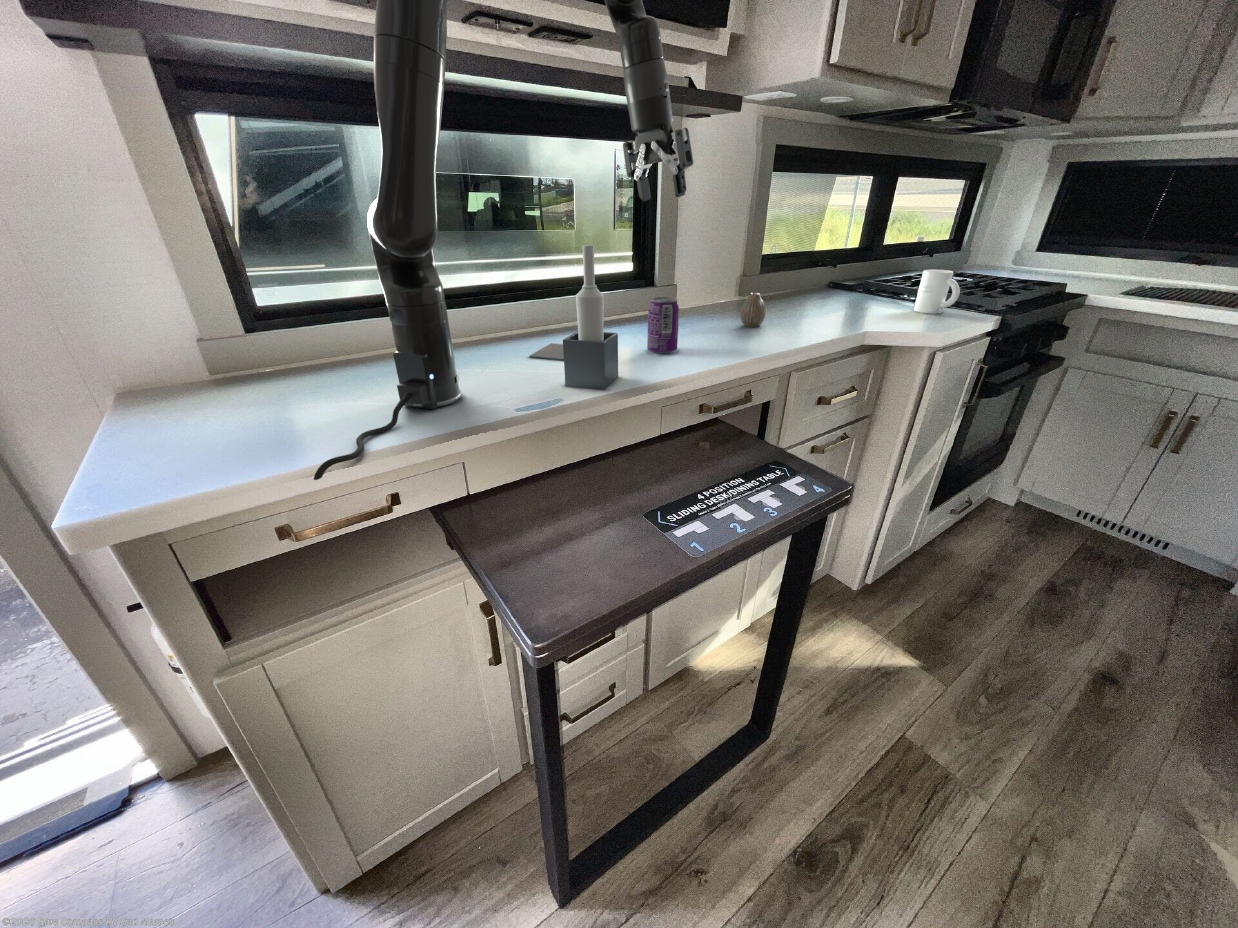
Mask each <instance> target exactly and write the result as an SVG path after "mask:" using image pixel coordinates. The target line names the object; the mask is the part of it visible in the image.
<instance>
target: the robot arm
mask: <svg viewBox="0 0 1238 928" xmlns="http://www.w3.org/2000/svg"><path fill="white" fill-rule="evenodd" d="M604 3H605V6H606V10H607V12H608V15H609V18H610V21H611V24H612V27H613V29H614V31H615V33H616V37H617V39H618V45H619V53H620V58H621V59H620V60H621V66H622V69H623V70H622V71H623V72H622V73H623V84H624V92H625V98H626V104H627V110H628V116H629V117H628V118H629V122H630V128H631V131H632V132H633V133H634V136H635V137H634V138H635V139H632V140H628V141H624V142H623V143H622V150H623V157H624V165H625V171H626V177H627V179H634V180H635V181H636V187H637V192H638V197H639V198H640V200H641V202H647V201H649V200H651V199H652V196H651V189H650V184H649V178H648V177H647V176H648V173H649V170H650V168H651V167H652V165H653V164H655V163H657V164H658V163H662V162H663V164H664V165H665V166H668V167H669V169H670V171H671V172H672V173H673V175H672V181H673V189H674V195H675V198H681V197H684V196H685V195H686V192H687V183H686V182H687V181H686V170H687V169H689V168H690V167H692V166H693V165H694V157H693V150H692V145H691V139H690V132H689V129H688V128H687V127H682V128H678V129H676V130H674V129H673V126H672V125H673V121H674V118H673V117H674V116H673V109H672V101H671V93H670V86H669V78H668V72H667V67H666V64H665V59H664V51H663V42H662V34H661V29H660V25H659V21H658V20H657V18H655V17H654V16H651V15H647V13H646V10H645V7H644V3H643V0H604ZM447 29H448V0H376V8H375V17H374V29H373V89H374V97H375V105H376V113H377V118H378V125H379V132H380V140H381V164H380V173H379V185H378V193H377V198H376V199H374V201H373V202H372V203H371V204H370V206H369V209H368V212H367V215H366V217H367V219H366V220H367V230H368V235H369V240H370V245H371V249H372V254H373V258H374V261H375V266H376V270H377V275H378V279H379V282H380V286H381V288H382V291H383V295H384V298H385V304H386V307H387V312H388V317H389V321H390V327H391V332H392V336H393V341H394V345H395V352H393V354H392V357H393V361H394V365H395V370H396V375H397V380H398V384H396V389H397V394H398V397H399V401H398V402H397V404H396V405H395V406H394V409H393V412H392V415H391V416H392V417H391V420H390V422H388V423H387V424H385V425H383V426H381V427H377V428H374V429H369V430H366V431H364V432H361V433H360V434H359V435H358V436H357V438H356V441H355V442H356V443H355V444H356V446H357V449H355V451H353V452H351V453H348V454H344V455H339V456H335V457H332V458H330V459H327V460H325V461H324V462H323V463H322V464H321V465H320V466H319V467H318V468H317V469H316V471H315V473H314V476H313V481H317V480H320V479H322V478H323V477H324V474H325V472H326V471H327V470H328V469H329V468H330V467H332V466H334V465H337V464H340V463H345V462H349V461H353V460H355V459H357V458H358V457H361V455H362V454H363V453H364V451H365V445H364V440H365V439H367V438H368V437H372V436H376V435H380V434H383V433H386V432H388V431H390V430H392V429H393V428H394V427H395V426H396V425H397V424H398V420H399V413H400V412H401V410H402V409H403V407H410V408H417V409H418V408H419V409H427V410H435V409H436V408H439V407H444V406H445V407H446V406H448V405H452V404H454V403H456V402H457V401H459V400H460V399H461V397H462V394H461V390H460V384H459V382H460V375H459V373H458V371H457V365H456V360H455V353H454V348H453V342H452V335H451V334H452V333H451V328H450V322H449V316H448V308H447V302H446V296H445V291H444V290H445V289H444V285H443V282H442V281H441V278H440V276H439V272H438V269H437V265H436V261H435V256H434V249H433V248H434V246H435V244H436V241H437V239H438V233H439V232H438V231H439V230H438V229H439V224H438V204H437V201H438V200H437V156H438V148H439V141H440V133H441V126H442V124H441V123H442V115H443V114H442V113H443V103H444V94H445V82H446V81H445V80H446V63H447V33H448V32H447ZM674 144H675V145H676V147H674Z"/></svg>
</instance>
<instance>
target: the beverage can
mask: <svg viewBox="0 0 1238 928" xmlns="http://www.w3.org/2000/svg"><path fill="white" fill-rule="evenodd" d="M679 318H680V306H679V303H678V298H677V297H672V296H655V297H651V298H650V301H649V305H648V307H647V345H646V346H647V347H646V348H647V350H649V351H650V352H652V353H654V354H657V355H667V354H672V353H673V352H675V351H677V350H678V342H679V341H678V339H679Z"/></svg>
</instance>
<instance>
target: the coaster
mask: <svg viewBox="0 0 1238 928" xmlns="http://www.w3.org/2000/svg"><path fill="white" fill-rule="evenodd" d="M528 357H529V359H541V360H551V361H552V360H554V361H561V362H562V361H563V362H564V353H563V343H550V344H548V345H546V346H544V347H542V348H541V349H539V350H537V351H535V352H534V353H532V354H530V355H529V356H528Z"/></svg>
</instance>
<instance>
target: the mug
mask: <svg viewBox="0 0 1238 928" xmlns="http://www.w3.org/2000/svg"><path fill="white" fill-rule="evenodd" d="M953 275H954V271H952V270H947V269H924V270H923V271H922V275H921V279H920V283H919V286H918V289H917V295H916V298H915V302H914V306H913V311H914V312H916V313H922V314H933V315H935V314H936V315H937V314H941V313H943V310H944V308H948V307H950V306H953V304H955V303H956V301H958V299H959V297H960V293H961V288H960V285H959V283H958V282H957V281H956V280H955V279H953ZM950 288H951V296H950V297H949V298H948V299H947V297H948V293H949V289H950Z"/></svg>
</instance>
